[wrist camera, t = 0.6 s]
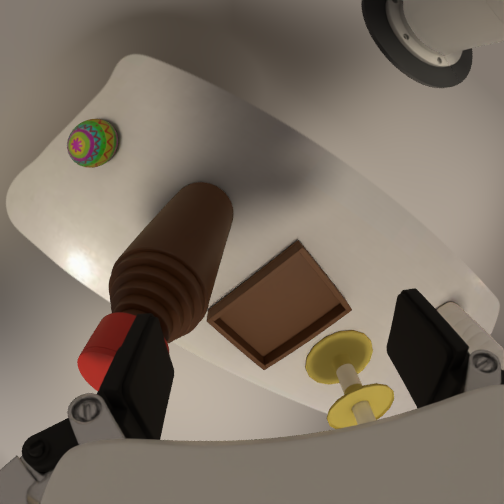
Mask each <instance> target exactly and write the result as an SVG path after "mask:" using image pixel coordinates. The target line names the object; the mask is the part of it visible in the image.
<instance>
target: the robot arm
mask: <svg viewBox="0 0 504 504" xmlns="http://www.w3.org/2000/svg"><path fill="white" fill-rule="evenodd" d="M386 15H387V19H388V21H389V24H390V26H391V28H392V30H393V32H394V34H395V35H396V37H397V38H398V39H399V41H400V42H401V43H402V44H403V46H404V47H405V48H406V49H407V50H408V51H409V52H410V53H411V54H413V55H414V56H415V57H417V58H418V59H419V60H421V61H423V62H425V63H427V64H429V65H432V66H435V67H446V66H450V65H453V64H455V63H456V62H457V61H458V60H459V59H460V57H461V54H462V50H466V49H470V48H474V47H479V46H483V45H487V44H492V43H497V42H502V41H504V0H386ZM468 350H469V346H468V345H467V344H466V343H465V341H464V340H463V339H462V338H461V337H460V336H459V335H458V333H457V332H456V331H455V330H454V329H453V328H452V327H451V326H450V324H449V323H448V322H447V321H446V320H445V319H444V318H443V317H442V316H441V314H440V313H439V312H438V311H437V310H436V309H435V308H434V307H433V306H432V305H431V304H430V303H429V302H428V301H427V300H426V298H425V297H424V296H423V295H422V294H421V293H420V292H419V291H418V290H417V289H408V290H403V291H402V292H401V294H399V295H398V297H397V301H396V306H395V312H394V316H393V321H392V326H391V330H390V335H389V339H388V343H387V353H388V355H389V357H390V359H391V361H392V362H393V364H394V366H395V368H396V369H397V371H398V373H399V375H400V377H401V378H402V380H403V382H404V384H405V386H406V387H407V389H408V391H409V393H410V395H411V397H412V399H413V400H414V402H415V404H416V406H417V408H418V409H415V410H411V411H408V412H405V413H402V414H398V415H395V416H391V417H387V418H384V419H380V420H376V421H372V422H367V423H363V424H359V425H354V426H350V427H345V428H340V429H335V430H329V431H323V432H317V433H311V434H303V435H296V436H288V437H278V438H269V439H255V440H238V441H173V440H160V437H161V433H162V428H163V423H164V418H165V414H166V408H167V404H168V400H169V395H170V391H171V387H172V382H173V378H174V368H173V365H172V362H171V359H170V355H169V352H168V349H167V346H166V343H165V339H164V336H163V332H162V329H161V326H160V322H159V319H158V317H154V315H153V314H152V313H146V314H137V316H136V318H135V319H134V321H133V323H132V325H131V327H130V329H129V331H128V333H127V335H126V337H125V339H124V342H123V344H122V346H121V347H119V348H118V350H117V352H116V354H115V356H114V358H113V360H112V362H111V364H110V366H109V369H108V371H107V373H106V375H105V377H104V379H103V382H102V384H101V386H100V388H99V390H98V393H97V394H93V393H87V394H83V395H80V396H78V397H77V398H75V399H74V400H73V401H72V402H71V404H70V405H69V407H68V418H67V419H65V420H63V421H61V422H59V423H57V424H55V425H53V426H52V427H49V428H47V429H45V430H43V431H41V432H39V433H37V434H35V435H33V436H31V437H30V438H28V439H27V440H26V441H25V443H24V445H23V447H22V456H21V457H20V458H19V457H18V456H16V457H15V458H13V459H12V460H11V461H10V462H9V463H8V464H6V465H5V466H4V467H3V468H2V469H1V470H0V504H504V370H502V369H501V363H500V360H499V358H498V357H497V356H496V355H495V354H493V353H492V352H490V351H487V350H476V351H474V352H472V353H471V354H470V353H469V352H468Z"/></svg>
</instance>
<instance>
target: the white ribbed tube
mask: <svg viewBox="0 0 504 504" xmlns="http://www.w3.org/2000/svg"><path fill="white" fill-rule="evenodd" d="M437 311H438V312H439V313H440V314H441V316H442V317H443V318H444V319H445V320H446V321H447V322H448V323H449V324H450V326H451V327H452V328H453V329H454V330H455V331H456V332H457V333H458V335H459V336H460V337H461V338H462V339H463V340H464V341H465V343H466V344H467V345H468V346H469V350H468V352H469V353H470V354H471V353H472V352H474V351H476V350H487V351H490V352H492V353H493V354H495V355H496V356H497V357H498V358H499V360H500V363H501V369H502V370H504V349H503V348H502V347H501V346H500V345H499V344H498V343H497V342H496V341H495V340H494V339H493V338H492V337H491V336H490V335H489V334H488V333H487V332H486V331H485V330H484V329H483V328H482V327H481V326H480V325H479V324H478V323H477V322H476V321H475V320H473V319H472V318H471V317H470V316H469V315H468V314H467V313H466V312H465V311H464V310H463V309H462V308H461V307H460V306H459V305H457V304H456V303H452V302H449V303H446V304H444V306H441V307H439V308H438V309H437Z"/></svg>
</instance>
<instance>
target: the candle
mask: <svg viewBox="0 0 504 504" xmlns="http://www.w3.org/2000/svg"><path fill="white" fill-rule="evenodd" d="M372 352H373V349H372V344H371V340H370V339H369V338H368V337H367V336H366V335H365V334H364V333H361V332H357V331H354V330H349V331H339V332H336V333H334V334H332V335H329V336H327V337H325V338H323V339H322V340H321V341H320V342H318V343H317V344H316V345H315V346H314V347H313V348H312V350H311V351H310V353H309V354H308V356H307V359H306V366H305V368H306V370H307V372H308V375H309V377H311V378H312V379H314V380H315V381H316V382H318V383H324V384H335V383H340V384H341V387H342V389H343V392H344V394H345V395H344V396H342V397H341V398H339V399H338V400H337V401H336V402H335V403H334V404H333V405H332V407H331V408H330V409H329V412H328V415H327V420H328V423H329V425H330V426H331V427H333V428H335V429H340V428H345V427H350V426H354V425H359V424H363V423H367V422H372V421H376V420H377V419H379V418H380V417H381V416H383V415H384V414H385V413H386V411H387V410H388V409H389V408H390V407H391V405H392V403H393V400H394V392H393V390H392V389H391V388H389V387H388V386H387V385H383V384H377V383H376V384H370V385H364V386H362V384H361V382H360V379H359V377H358V375H357V374H358V373H360V372H361V371H362V370H363V369H364V368H365V366H366V365H367V364H368V363H369V361H370V358H371V355H372Z"/></svg>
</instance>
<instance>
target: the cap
mask: <svg viewBox="0 0 504 504" xmlns="http://www.w3.org/2000/svg"><path fill="white" fill-rule="evenodd" d="M135 318H136V316H135V315H132V314H128V313H121V312H117V313H111V314H109V315H107V316H105V317H104V318H103V319H102V320H101V322H100V323H99V325H98V326H97V328H96V330H95V331H94V333H93V334H92V336H91V338H90V339H89V341H88V343H87V344H86V346H85V347H84V349H83V351H82V353H81V354H80V356H79V358H78V362H77V363H78V368H79V371H80V373H81V374H82V376H83V377H84V379H85V380H86V381H87V382H88V383H89V384H90V385H91V386H92V387H93V388H94V389H95V390H97V391H98V390H99V388H100V386H101V384H102V382H103V379H104V377H105V375H106V373H107V371H108V369H109V366H110V364H111V362H112V360H113V358H114V356H115V354H116V352H117V350H118V348H119V347H121V346H122V344H123V342H124V339H125V337H126V335H127V333H128V331H129V329H130V327H131V325H132V323H133V321H134V319H135ZM164 339H165V338H164ZM165 343H166V346H167V349H168V352H169V347H168V344H167V341H166V340H165Z"/></svg>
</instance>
